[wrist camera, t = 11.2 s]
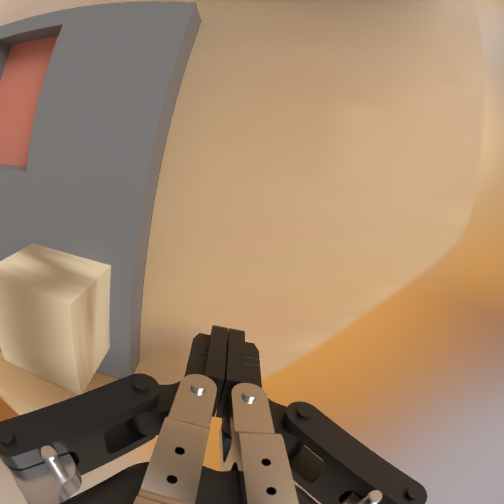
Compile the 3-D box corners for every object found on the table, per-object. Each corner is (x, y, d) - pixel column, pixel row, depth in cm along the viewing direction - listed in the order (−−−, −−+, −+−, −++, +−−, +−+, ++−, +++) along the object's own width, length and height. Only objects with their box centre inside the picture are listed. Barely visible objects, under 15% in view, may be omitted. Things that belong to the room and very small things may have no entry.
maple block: (39, 321, 14) (4, 358, 10) (33, 243, 12) (-15, 270, 8) (109, 347, 14) (81, 395, 10) (111, 265, 13) (70, 304, 9)
